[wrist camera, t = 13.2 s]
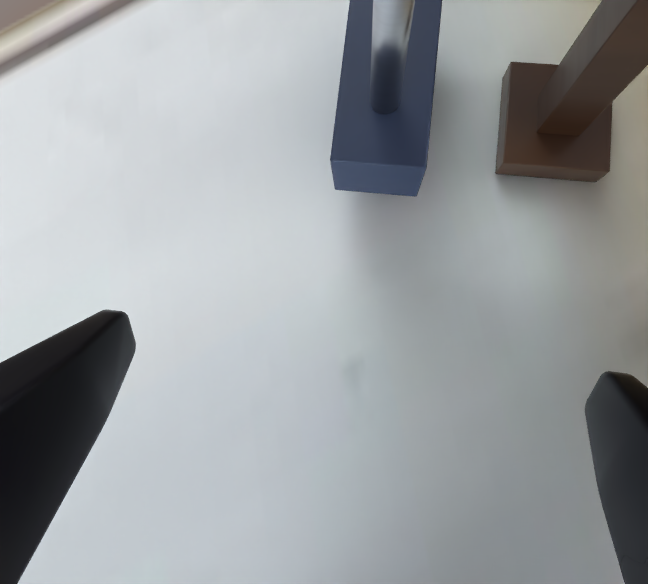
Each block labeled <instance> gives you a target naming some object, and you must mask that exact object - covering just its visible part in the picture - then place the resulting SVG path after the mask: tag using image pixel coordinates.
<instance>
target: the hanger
mask: <svg viewBox="0 0 648 584" xmlns="http://www.w3.org/2000/svg"><path fill="white" fill-rule="evenodd" d="M441 8H442V0H350V4H349V12H348V20H347V29H346V37H345V45H344V53H343V61H342V69H341V77H340V85H339V93H338V101H337V109H336V118H335V126H334V134H333V142H332V150H331V158H330V161H331V167H332V173H333V180H334V186H335V189H336V190H346V191H357V192H369V193H380V194H392V195H404V196H417V194H418V191H419V188H420V185H421V182H422V179H423V176H424V173H425V170H426V167H427V157H428V147H429V136H430V125H431V115H432V104H433V93H434V83H435V72H436V61H437V51H438V40H439V29H440V19H441Z"/></svg>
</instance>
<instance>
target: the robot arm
mask: <svg viewBox="0 0 648 584" xmlns="http://www.w3.org/2000/svg"><path fill="white" fill-rule="evenodd" d="M135 348H136V343H135V339H134V335H133V331H132V328H131V324H130V321H129V318H128V315H127V314H126V313H125V312H122V311H115V310H102V311H100V312H98V313H96V314H94V315H92V316H90V317H89V318H87V319H85V320H83V321H81V322H79V323H77V324H75V325H73V326H71V327H69V328H67V329H65V330H63V331H61V332H59V333H57V334H55V335H54V336H52V337H50V338H48V339H46V340H44V341H42V342H40V343H38V344H36V345H34V346H32V347H30V348H28V349H26V350H24V351H22V352H20V353H19V354H17V355H15V356H13V357H11V358H9V359H7V360H5V361H3V362H1V363H0V584H17V583H18V581H19V580H20V578H21V576H22V574H23V572H24V570H25V569H26V567H27V565H28V563H29V561H30V560H31V558H32V556H33V554H34V552H35V550H36V549H37V547H38V545H39V543H40V541H41V539H42V538H43V536H44V534H45V532H46V530H47V529H48V527H49V525H50V523H51V521H52V519H53V518H54V516H55V514H56V512H57V510H58V508H59V507H60V505H61V503H62V501H63V499H64V497H65V496H66V494H67V492H68V490H69V488H70V487H71V485H72V483H73V481H74V479H75V477H76V476H77V474H78V472H79V470H80V468H81V466H82V465H83V463H84V461H85V459H86V457H87V456H88V454H89V452H90V450H91V448H92V446H93V445H94V443H95V441H96V439H97V437H98V435H99V434H100V432H101V430H102V428H103V426H104V424H105V422H106V420H107V418H108V416H109V414H110V411H111V409H112V407H113V404H114V402H115V399H116V397H117V395H118V392H119V390H120V387H121V385H122V383H123V380H124V378H125V375H126V373H127V371H128V368H129V366H130V363H131V361H132V358H133V356H134V353H135ZM585 416H586V422H587V428H588V434H589V440H590V446H591V452H592V458H593V463H594V469H595V475H596V481H597V486H598V491H599V495H600V499H601V503H602V507H603V510H604V513H605V517H606V520H607V524H608V527H609V531H610V534H611V538H612V541H613V544H614V548H615V551H616V555H617V558H618V562H619V565H620V569H621V572H622V576H623V579H624V582H625V584H648V388H647V387H646V386H645V385H644V384H642V383H641V382H640V381H639V380H638V379H636V378H635V377H634V376H632V375H630V374H627V373H619V372H611V371H608V372H605V373H603V374H602V375H601V376H600V378H599V380H598V381H597V383H596V385H595V387H594V389H593V390H592V392H591V394H590V396H589V397H588V399H587V401H586V405H585Z"/></svg>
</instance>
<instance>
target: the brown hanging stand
mask: <svg viewBox="0 0 648 584" xmlns="http://www.w3.org/2000/svg"><path fill="white" fill-rule="evenodd" d="M647 65H648V0H602V1H601V3H600V4H599V6H598V7H597V9H596V10H595V12H594V13H593V15H592V16H591V18H590V19H589V21H588V22H587V24H586V25H585V27H584V28H583V30H582V31H581V33H580V34H579V36H578V37H577V39H576V40H575V42H574V43H573V45H572V46H571V48H570V49H569V51H568V52H567V54H566V55H565V57H564V58H563V60H562V61H561V63H560V64H559V65H553V64H537V63H521V62H510V64H509V66H508V68H507V70H506V72H505V74H504V76H503V79H502V93H501V106H500V119H499V132H498V145H497V158H496V172H495V173H496V174H505V175H517V176H528V177H540V178H552V179H564V180H575V181H587V182H597V181H598V180H599V179H600V178H602V177H603V176H604V175H606V174H607V173H608V172H609V171H610V148H611V123H612V101H613V100H614V99H615V98H616V97H617V96H618V95H619V94H620V93H621V92H622V91H623V90H624V89H625V88H626V87H627V86H628V85H629V84H630V83H631V82H632V81H633V79H634V78H635V77H636V76H637V75H638V74H639V73H640V72H641V71H642V70H643V69H644V68H645V67H646V66H647Z"/></svg>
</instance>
